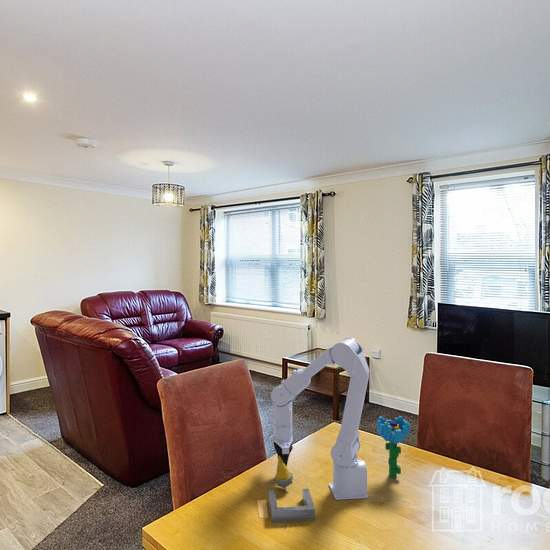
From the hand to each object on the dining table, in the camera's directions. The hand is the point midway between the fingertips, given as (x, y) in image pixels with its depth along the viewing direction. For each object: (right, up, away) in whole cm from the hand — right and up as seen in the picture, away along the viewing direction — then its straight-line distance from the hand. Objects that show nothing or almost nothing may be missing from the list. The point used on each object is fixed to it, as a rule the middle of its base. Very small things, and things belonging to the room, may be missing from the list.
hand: (282, 466), depth 125 cm
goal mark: (-6, -3, -17) cm, 19 cm away
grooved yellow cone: (+1, -3, -8) cm, 8 cm away
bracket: (+2, -3, -18) cm, 18 cm away
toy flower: (+34, -3, 0) cm, 34 cm away
